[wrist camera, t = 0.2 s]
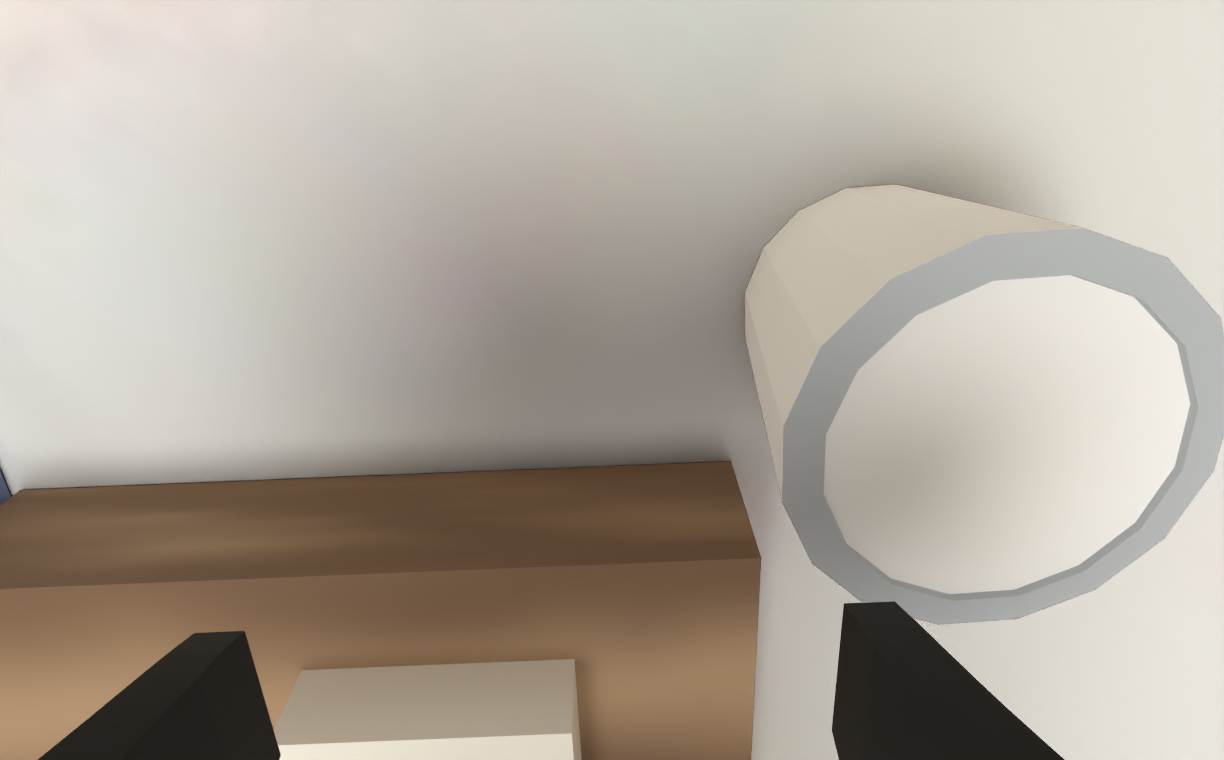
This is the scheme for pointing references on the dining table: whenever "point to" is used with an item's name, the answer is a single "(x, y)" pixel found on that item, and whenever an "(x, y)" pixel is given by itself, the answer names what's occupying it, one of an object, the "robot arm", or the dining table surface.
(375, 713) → the block
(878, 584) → the white cup
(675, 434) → the dining table surface
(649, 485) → the brown wooden slab
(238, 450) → the dining table surface
